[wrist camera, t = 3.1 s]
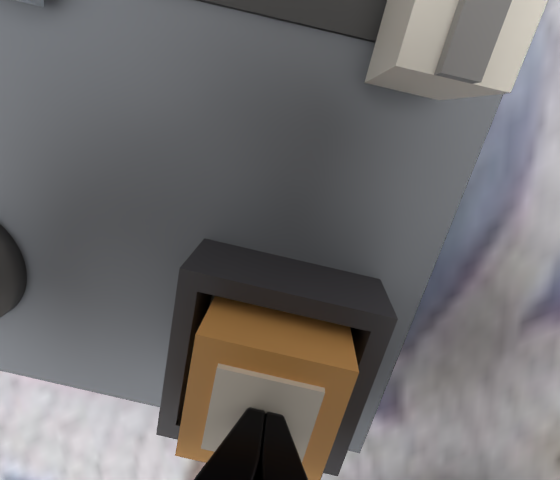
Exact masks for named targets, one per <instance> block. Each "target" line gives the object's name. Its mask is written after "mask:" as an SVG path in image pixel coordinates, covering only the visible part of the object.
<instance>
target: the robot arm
mask: <svg viewBox="0 0 560 480" xmlns="http://www.w3.org/2000/svg"><path fill="white" fill-rule="evenodd" d="M194 480H308V478H307V475H306V473H305V470H304V467H303V465H302V462H301V459H300V457H299V454H298V451H297V449H296V446H295V444H294V441H293V438H292V436H291V433H290V430H289V428H288V425H287V423H286V420H285V418H284V416H283V415H281V414H277V413H273V412H267V413H266V414H265V411H264V410H260V409H256V408H251V407H249V408H247V409H246V410H245V412H244V413H243V415H242V416H241V417H240V419H239V420H238V421H237V423H236V424H235V425H234V427H233V428H232V429H231V431H230V432H229V433H228V435H227V436H226V437H225V439H224V440H223V441H222V443H221V444H220V445H219V447H218V448H217V449H216V451H215V452H214V453H213V455H212V456H211V457H210V459H209V460H208V461H207V463H206V464H205V465H204V467H203V468H202V469H201V471H200V472H199V474H198V475H197V476H196V478H195V479H194Z"/></svg>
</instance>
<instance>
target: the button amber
mask: <svg viewBox="0 0 560 480" xmlns="http://www.w3.org/2000/svg"><path fill="white" fill-rule="evenodd" d="M358 374H359V368H358V364H357V359H356V354H355V349H354V344H353V339H352V334H351V329H350V327H348V326H343V325H339V324H335V323H331V322H326V321H322V320H318V319H313V318H309V317H305V316H300V315H296V314H292V313H287V312H283V311H279V310H274V309H270V308H266V307H262V306H257V305H253V304H249V303H244V302H240V301H236V300H231V299H227V298H223V297H218V296H215V297H214V299H213V301H212V303H211V305H210V307H209V309H208V311H207V313H206V315H205V316H204V318H203V320H202V322H201V324H200V326H199V328H198V330H197V332H196V334H195V340H194V346H193V352H192V358H191V364H190V370H189V376H188V382H187V388H186V394H185V400H184V406H183V412H182V418H181V424H180V430H179V436H178V442H177V448H176V454H175V456H179V457H184V458H188V459H192V460H197V461H201V462H206V463H207V461H208V460H209V459H210V457H211V456H212V455H213V453H214V452H215V451H216V449H217V448H218V447H219V445H220V444H221V443H222V441H223V440H224V439H225V437H226V436H227V435H228V433H229V432H230V431H231V429H232V428H233V427H234V425H235V424H236V423H237V421H238V420H239V419H240V417H241V416H242V415H243V413H244V412H245V410H246V409H247V408H249V407H251V408H256V409H260V410H264V411H265V414H266V413H267V412H273V413H277V414H281V415H283V416H284V418H285V420H286V423H287V425H288V428H289V430H290V433H291V436H292V438H293V441H294V444H295V446H296V449H297V451H298V454H299V457H300V459H301V462H302V465H303V467H304V470H305V473H306V475H307V478H308V480H320V479H321V476H322V474H323V471H324V468H325V465H326V463H327V460H328V457H329V454H330V452H331V449H332V446H333V443H334V441H335V438H336V435H337V432H338V429H339V427H340V424H341V421H342V418H343V416H344V413H345V410H346V407H347V405H348V402H349V399H350V396H351V394H352V391H353V388H354V385H355V383H356V380H357V377H358Z"/></svg>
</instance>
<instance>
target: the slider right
mask: <svg viewBox="0 0 560 480" xmlns="http://www.w3.org/2000/svg"><path fill="white" fill-rule="evenodd" d="M547 2H548V0H387V3H386V6H385V10H384V14H383V17H382V21H381V25H380V28H379V32H378V35H377V39H376V43H375V46H374V50H373V54H372V57H371V61H370V64H369V68H368V72H367V75H366V79H365V82H364V83H367V84H372V85H376V86H380V87H384V88H389V89H393V90H397V91H401V92H406V93H410V94H414V95H418V96H423V97H427V98H431V99H435V100H447V99H457V98H466V97H476V96H486V95H495V94H505V93H511V91H512V88H513V86H514V83H515V81H516V78H517V76H518V73H519V71H520V68H521V66H522V63H523V61H524V59H525V56H526V54H527V51H528V49H529V46H530V44H531V41H532V39H533V36H534V34H535V31H536V29H537V27H538V24H539V22H540V19H541V17H542V14H543V12H544V9H545V7H546V4H547Z"/></svg>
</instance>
